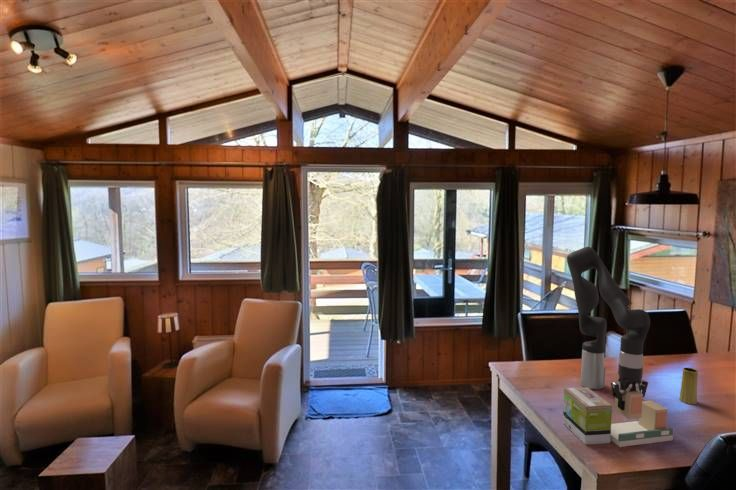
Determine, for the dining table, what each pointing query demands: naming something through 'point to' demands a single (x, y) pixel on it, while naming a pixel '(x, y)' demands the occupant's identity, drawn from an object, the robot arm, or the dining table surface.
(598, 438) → the tea box
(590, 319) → the robot arm
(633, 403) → the carton
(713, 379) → the dining table surface
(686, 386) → the vase
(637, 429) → the white flat slab
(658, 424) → the faced carton
